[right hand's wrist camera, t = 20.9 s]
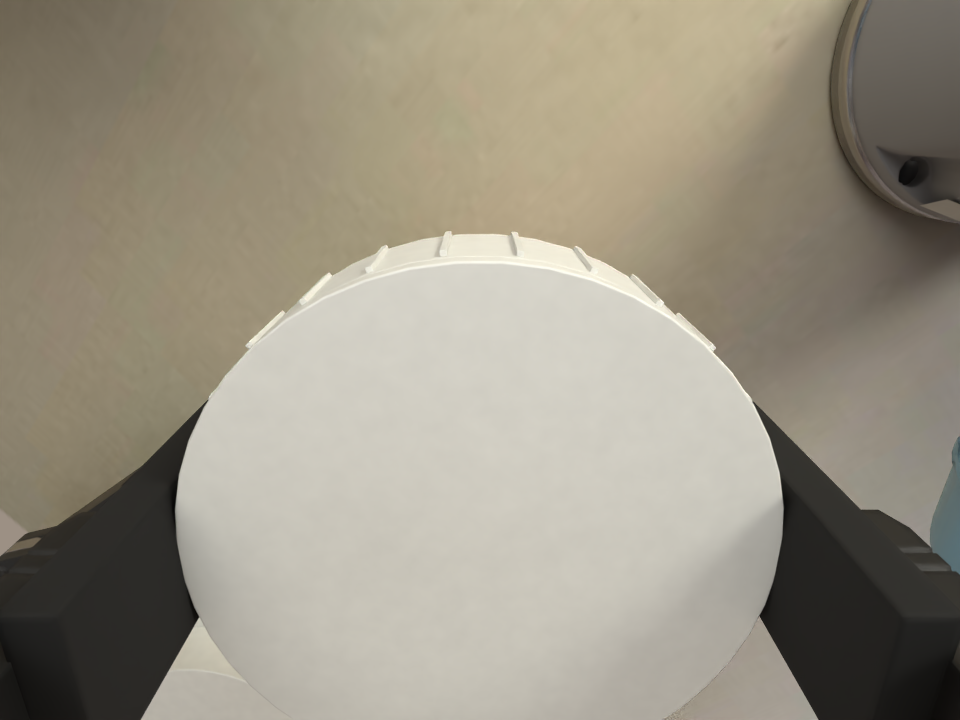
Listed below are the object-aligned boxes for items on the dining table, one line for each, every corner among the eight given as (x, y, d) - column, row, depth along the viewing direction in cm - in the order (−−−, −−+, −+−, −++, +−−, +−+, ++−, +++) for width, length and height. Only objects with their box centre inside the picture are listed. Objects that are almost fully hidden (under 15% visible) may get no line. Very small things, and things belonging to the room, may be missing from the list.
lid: (836, 375, 12) (920, 433, 10) (576, 728, 15) (593, 834, 13) (338, 124, 10) (299, 124, 8) (163, 577, 13) (100, 668, 11)
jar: (297, 593, 41) (193, 861, 26) (204, 492, 39) (28, 724, 24) (412, 529, 40) (370, 776, 24) (322, 418, 37) (214, 618, 22)
